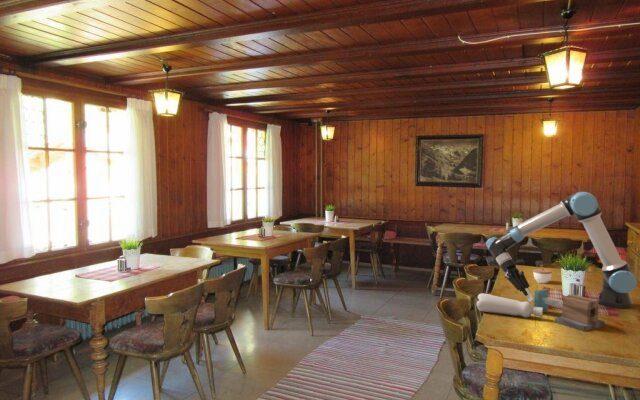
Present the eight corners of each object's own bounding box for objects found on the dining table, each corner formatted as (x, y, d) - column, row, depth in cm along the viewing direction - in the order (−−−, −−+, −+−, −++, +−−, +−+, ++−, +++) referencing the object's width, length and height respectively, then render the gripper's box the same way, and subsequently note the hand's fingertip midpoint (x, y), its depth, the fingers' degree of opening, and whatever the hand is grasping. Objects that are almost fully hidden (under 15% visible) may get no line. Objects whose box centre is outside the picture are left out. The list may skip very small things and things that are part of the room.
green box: (544, 309, 237) (545, 288, 237) (578, 319, 221) (579, 297, 221) (534, 312, 233) (534, 290, 233) (568, 322, 218) (568, 299, 217)
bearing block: (575, 317, 227) (576, 293, 226) (604, 325, 215) (605, 300, 214) (554, 322, 219) (555, 297, 218) (583, 331, 207) (584, 304, 206)
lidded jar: (550, 285, 291) (551, 270, 290) (531, 282, 296) (532, 268, 296) (552, 281, 300) (552, 267, 299) (534, 279, 305) (534, 265, 305)
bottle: (475, 306, 233) (540, 318, 218) (478, 290, 237) (542, 300, 221) (478, 312, 240) (541, 324, 224) (480, 296, 243) (543, 306, 228)
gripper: (510, 265, 258) (535, 302, 244) (493, 267, 251) (519, 305, 238) (518, 257, 253) (545, 294, 239) (502, 259, 246) (528, 298, 233)
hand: (532, 300), depth 239 cm, fingers closed
